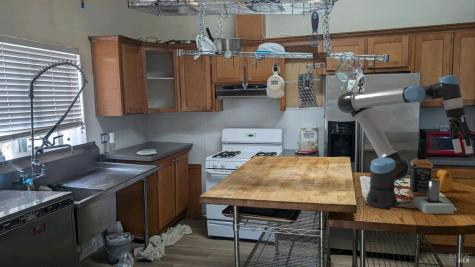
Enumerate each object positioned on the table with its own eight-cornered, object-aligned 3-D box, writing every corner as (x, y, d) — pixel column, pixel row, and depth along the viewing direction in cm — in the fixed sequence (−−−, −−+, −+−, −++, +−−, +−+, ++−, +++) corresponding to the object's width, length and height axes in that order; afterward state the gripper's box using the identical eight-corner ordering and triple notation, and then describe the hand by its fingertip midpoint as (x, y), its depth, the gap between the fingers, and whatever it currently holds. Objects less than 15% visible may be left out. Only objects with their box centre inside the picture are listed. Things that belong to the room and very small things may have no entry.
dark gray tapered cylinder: (429, 210, 173) (431, 182, 171) (425, 207, 178) (426, 179, 176) (440, 210, 172) (442, 182, 171) (435, 207, 177) (436, 179, 176)
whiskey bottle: (407, 194, 202) (410, 138, 198) (427, 195, 200) (430, 138, 196) (411, 200, 192) (414, 140, 188) (432, 201, 190) (435, 141, 186)
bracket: (441, 187, 216) (442, 167, 214) (453, 190, 209) (454, 170, 208) (428, 189, 212) (429, 169, 210) (439, 192, 205) (441, 172, 204)
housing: (424, 215, 169) (425, 205, 168) (413, 206, 182) (413, 196, 181) (453, 215, 168) (454, 205, 168) (439, 206, 181) (440, 196, 181)
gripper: (474, 104, 156) (484, 152, 155) (453, 108, 180) (462, 150, 179) (455, 107, 158) (465, 155, 156) (437, 111, 182) (446, 153, 181)
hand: (463, 153), depth 168 cm, fingers open, 13 cm apart
